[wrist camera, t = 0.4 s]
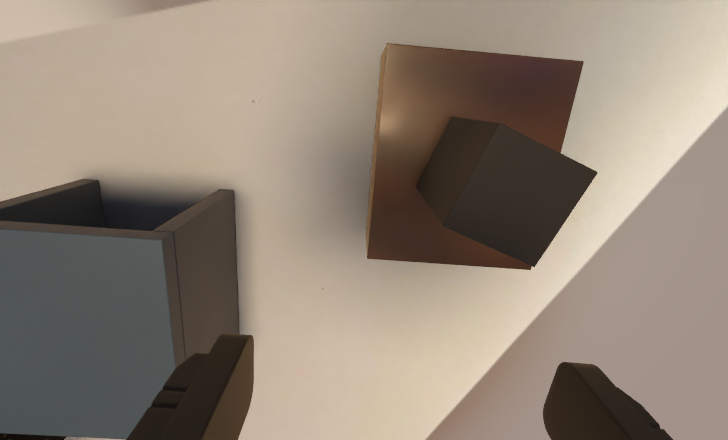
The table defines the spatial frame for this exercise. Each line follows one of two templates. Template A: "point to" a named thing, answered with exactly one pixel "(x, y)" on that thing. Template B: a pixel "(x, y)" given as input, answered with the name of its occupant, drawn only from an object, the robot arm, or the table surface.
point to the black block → (501, 187)
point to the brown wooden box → (427, 124)
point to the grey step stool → (105, 308)
